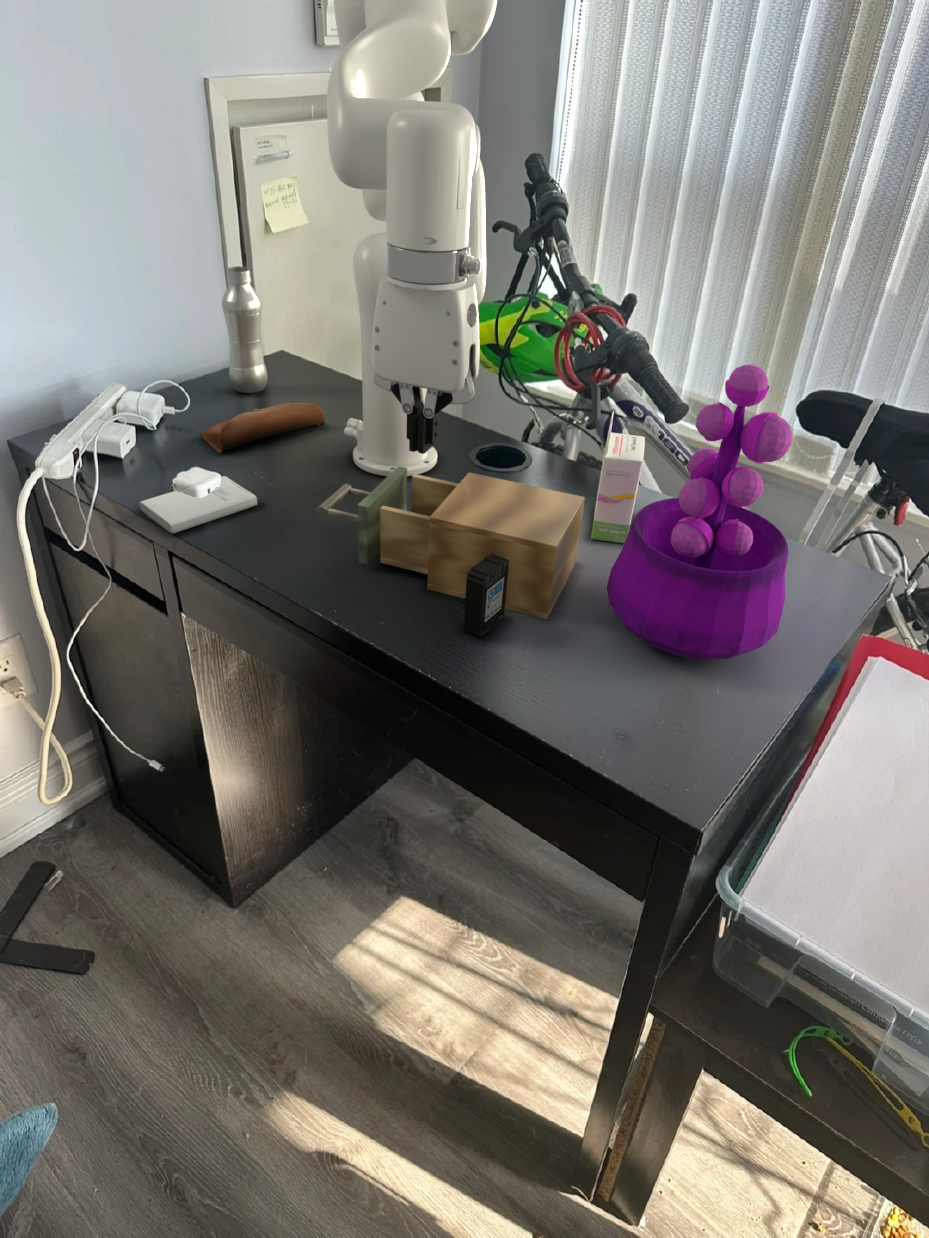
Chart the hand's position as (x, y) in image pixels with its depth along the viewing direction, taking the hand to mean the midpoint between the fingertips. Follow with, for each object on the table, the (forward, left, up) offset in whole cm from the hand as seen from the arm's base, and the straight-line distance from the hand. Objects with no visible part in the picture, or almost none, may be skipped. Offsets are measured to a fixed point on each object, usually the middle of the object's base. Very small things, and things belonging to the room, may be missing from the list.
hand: (422, 447), depth 89 cm
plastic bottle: (-58, +35, -18) cm, 69 cm away
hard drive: (-34, -1, -18) cm, 38 cm away
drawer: (-5, +5, -16) cm, 18 cm away
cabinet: (+7, +7, -17) cm, 20 cm away
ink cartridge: (+10, -3, -18) cm, 21 cm away
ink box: (+13, +27, -18) cm, 35 cm away
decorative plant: (+29, +10, -18) cm, 36 cm away
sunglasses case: (-44, +22, -18) cm, 52 cm away
